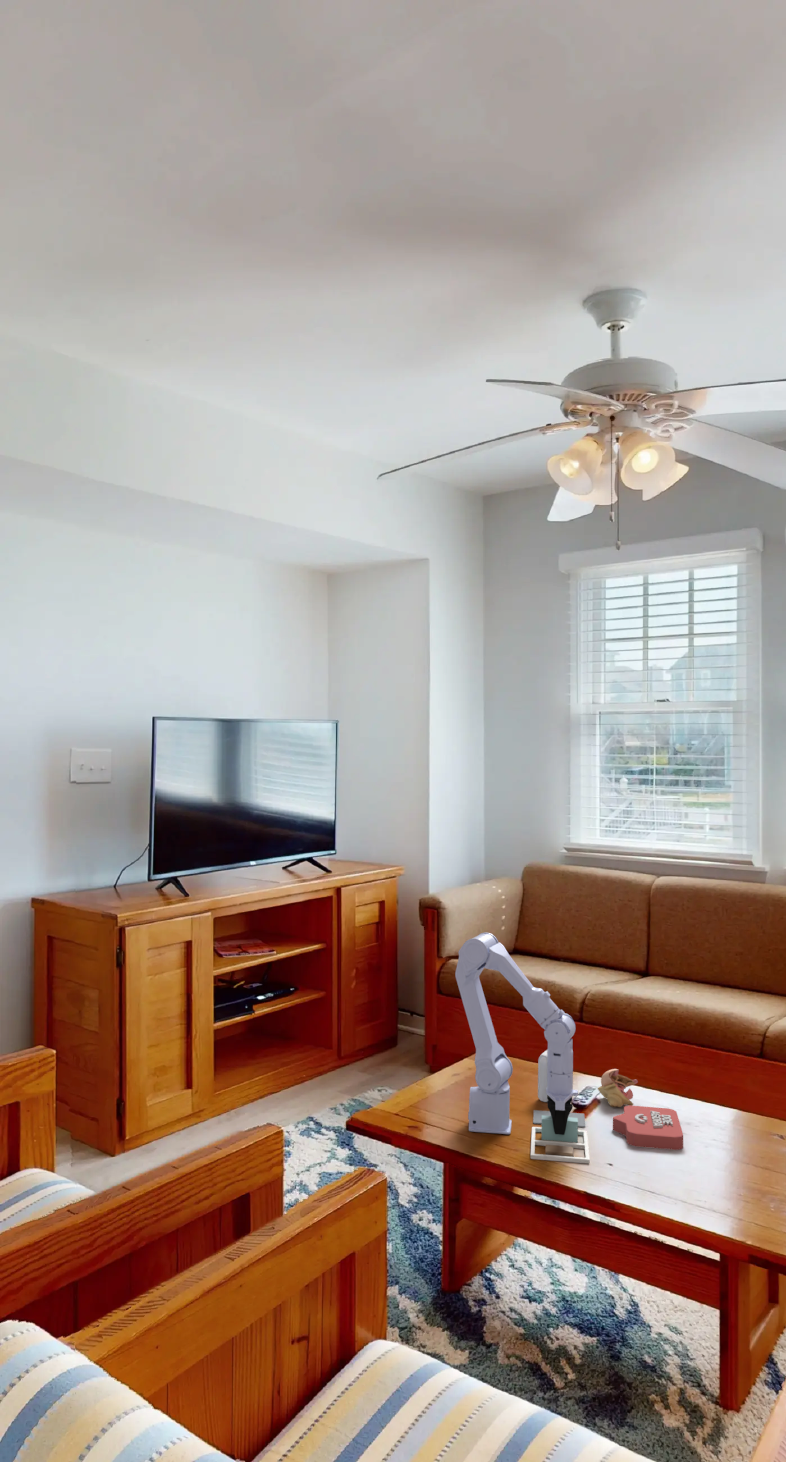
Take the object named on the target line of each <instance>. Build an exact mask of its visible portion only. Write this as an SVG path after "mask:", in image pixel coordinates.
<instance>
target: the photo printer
mask: <svg viewBox="0 0 786 1462" xmlns="http://www.w3.org/2000/svg"><path fill="white" fill-rule="evenodd" d="M537 1061H538V1064H537V1066H538V1067H537V1070H538V1071H537V1097H538V1099H539V1100H540V1101H541V1102H544V1103H547V1101H548V1099H547V1093H546V1089H547V1049H546V1050H544V1052H542V1053H541V1054H540V1056H539V1057H538V1059H537Z"/></svg>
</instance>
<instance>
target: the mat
mask: <svg viewBox="0 0 786 1462" xmlns="http://www.w3.org/2000/svg"><path fill="white" fill-rule="evenodd" d="M542 1115H545V1116H551V1113H550V1111H549V1110H539V1109H538V1110H537V1109H533V1118H532V1124H535V1125H542ZM568 1117H573V1118H578V1128H584V1129H585V1128H586V1118H585V1113H579V1112H578V1113H577V1112H570V1114H569V1116H568Z"/></svg>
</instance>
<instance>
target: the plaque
mask: <svg viewBox="0 0 786 1462" xmlns="http://www.w3.org/2000/svg"><path fill="white" fill-rule="evenodd" d="M612 1131H614V1132H616V1133H618V1134H620V1135H623V1136H625V1137H626V1143H627V1144H628V1145H630V1146H632V1147H637V1148H648V1149H649V1148H651V1149H661V1150H672V1151H674V1150H675V1151H676V1150H677V1151H678V1150H682V1149H684V1133H683V1130H682V1126H681V1122H680V1119H679V1115H678V1112H677V1111H676V1110H675V1109H672V1108H669V1107H667V1108H666V1107H654V1106H643V1105H642V1106H641V1105H640V1106H639V1105H632V1106H631V1105H625V1106H623V1113H621V1114H618V1115H614V1116H612Z"/></svg>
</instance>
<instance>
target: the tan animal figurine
mask: <svg viewBox="0 0 786 1462" xmlns="http://www.w3.org/2000/svg"><path fill="white" fill-rule="evenodd" d="M619 1071H620V1070H619V1069H617V1068H612V1069H608V1070H607V1071H605V1072H604V1073H603V1074H602V1076H601V1078H600V1083H601V1086H598V1087H597V1090H598V1092H599V1093H600V1094H601V1095H602V1096H603V1097H604V1098H605V1099H606V1100H607V1103H608V1104H609V1106H610V1107H612V1108H616V1107H618V1108H621V1107H622V1106H624V1105H625V1106H629V1105H631V1106H635V1104H634V1103H633V1102H632V1101H631V1100H632V1099H633V1097H634V1092H633V1091H632V1089H631V1088H628V1087H631V1086H634V1085H636V1084H638V1083H639V1081H638V1079H631V1078H629V1077H628V1076H624V1075H622V1074H619ZM626 1088H628V1090H627V1091H625V1090H626Z"/></svg>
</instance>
